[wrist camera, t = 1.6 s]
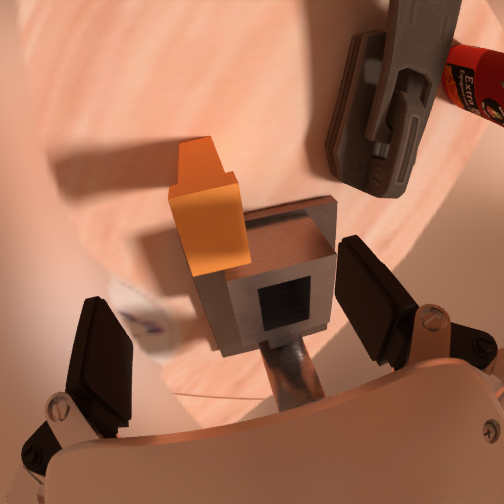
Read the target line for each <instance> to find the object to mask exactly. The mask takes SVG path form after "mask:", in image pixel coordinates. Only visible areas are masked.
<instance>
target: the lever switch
mask: <svg viewBox="0 0 504 504" xmlns="http://www.w3.org/2000/svg"><path fill="white" fill-rule="evenodd" d="M243 215H244V221H245V227H246V233H247V239H248V246H249V252H250V258H251V263H249V264H245V265H241V266H237V267H232V268H228V269H224V270H220V271H216V272H211V273H207V274H203V275H199V276H194V277H193V275H192V277H193V279H194V282H195V285H196V288H197V291H198V293H199V296H200V299H201V302H202V304H203V307H204V310H205V313H206V315H207V318H208V321H209V323H210V326H211V328H212V331H213V334H214V336H215V339H216V341H217V344H218V346H219V349H220V351H221V354H222V356H223V357H227V356H232V355H236V354H240V353H245V352H249V351H253V350H257V349H260V352H261V355H262V358H263V362H264V365H265V368H266V372H267V375H268V378H269V382H270V385H271V388H272V392H273V395H274V398H275V401H276V404H277V408H278V411H279V412H283V411H286V410H290V409H293V408H297V407H300V406H303V405H306V404H310V403H313V402H316V401H319V400H322V399H325V398H328V397H326V395H325V392H324V390H323V387H322V385H321V382H320V380H319V378H318V375H317V373H316V370H315V368H314V365H313V363H312V361H311V358H310V356H309V353H308V351H307V349H306V346H305V344H304V341H303V339H302V337H304V336H307V335H311V334H314V333H317V332H320V331H323V330H327V323H328V322H330V314H331V306H332V298H333V289H334V280H335V270H336V258H337V253H336V252H335V238H336V221H337V201H336V200H335V199H334V198H333V197H332V196H327V197H322V198H317V199H312V200H306V201H301V202H296V203H292V204H287V205H282V206H277V207H272V208H268V209H263V210H258V211H254V212H249V213H245V214H243ZM179 238H180V236H179ZM180 241H181V239H180ZM181 244H182V243H181ZM182 247H183V246H182ZM183 250H184V249H183ZM184 253H185V252H184ZM185 256H186V255H185ZM186 259H187V258H186ZM187 262H188V261H187ZM188 265H189V264H188ZM189 268H190V267H189ZM190 271H191V270H190ZM191 274H192V272H191ZM329 397H331V396H329Z"/></svg>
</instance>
